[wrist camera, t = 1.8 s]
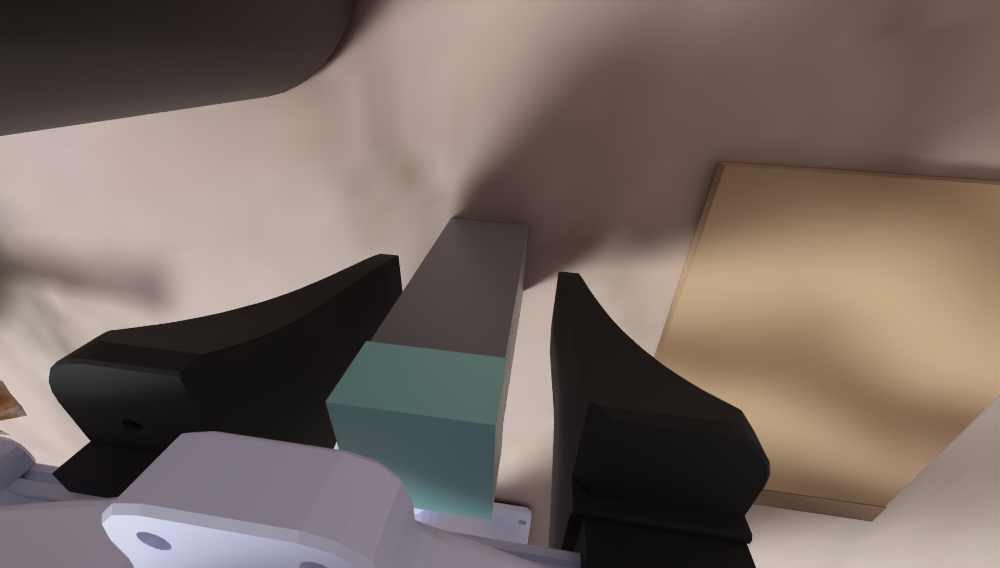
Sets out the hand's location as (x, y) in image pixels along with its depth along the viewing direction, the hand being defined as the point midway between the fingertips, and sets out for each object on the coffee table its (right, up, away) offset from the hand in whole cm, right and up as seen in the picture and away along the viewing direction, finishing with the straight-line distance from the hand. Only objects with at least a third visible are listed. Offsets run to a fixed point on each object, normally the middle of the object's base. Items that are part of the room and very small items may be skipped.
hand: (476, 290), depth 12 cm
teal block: (0, +1, +2) cm, 2 cm away
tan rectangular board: (+13, -4, +3) cm, 14 cm away
